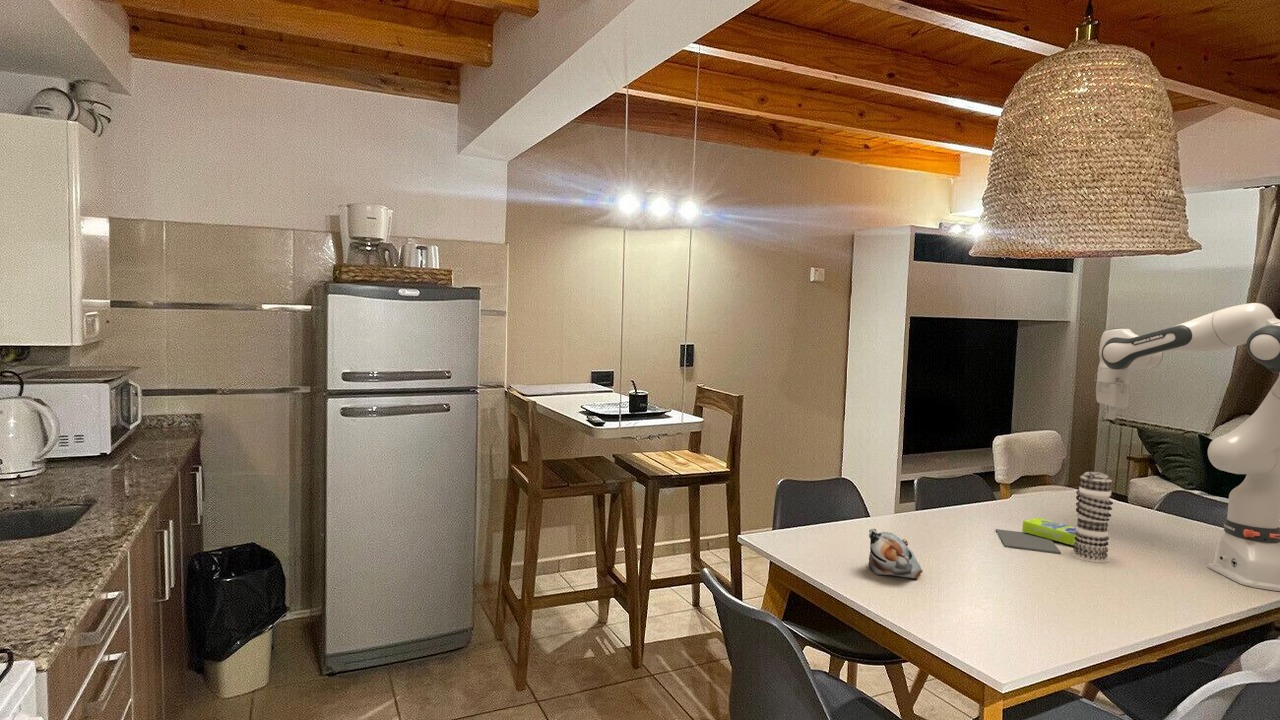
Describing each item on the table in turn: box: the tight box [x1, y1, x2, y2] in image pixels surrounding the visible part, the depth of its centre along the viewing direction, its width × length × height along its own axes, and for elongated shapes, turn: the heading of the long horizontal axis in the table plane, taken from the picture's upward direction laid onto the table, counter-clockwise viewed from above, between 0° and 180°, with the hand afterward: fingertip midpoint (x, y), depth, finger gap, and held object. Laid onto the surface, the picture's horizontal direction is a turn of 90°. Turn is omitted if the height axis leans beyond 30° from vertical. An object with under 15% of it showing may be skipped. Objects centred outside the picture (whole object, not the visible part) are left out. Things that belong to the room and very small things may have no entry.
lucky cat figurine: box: [868, 528, 924, 580], centre depth 188 cm, size 15×12×14 cm
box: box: [1021, 517, 1077, 547], centre depth 228 cm, size 10×4×17 cm
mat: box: [995, 528, 1062, 555], centre depth 224 cm, size 19×15×1 cm
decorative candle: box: [1072, 471, 1114, 564], centre depth 209 cm, size 9×9×25 cm
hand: (1110, 419), depth 236 cm, fingers closed
